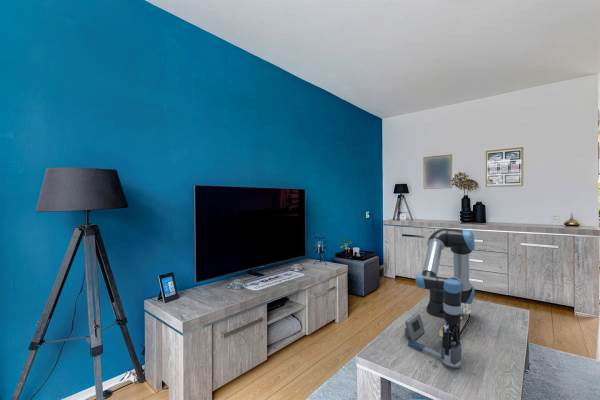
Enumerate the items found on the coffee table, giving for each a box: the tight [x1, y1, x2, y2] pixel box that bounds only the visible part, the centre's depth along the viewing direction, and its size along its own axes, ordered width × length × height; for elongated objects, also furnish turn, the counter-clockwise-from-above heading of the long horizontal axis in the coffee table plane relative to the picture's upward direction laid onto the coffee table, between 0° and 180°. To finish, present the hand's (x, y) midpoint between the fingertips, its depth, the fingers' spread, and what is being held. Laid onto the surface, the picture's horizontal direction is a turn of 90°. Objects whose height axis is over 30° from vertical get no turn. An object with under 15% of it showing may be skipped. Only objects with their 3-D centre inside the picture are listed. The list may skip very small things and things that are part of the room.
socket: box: [440, 340, 462, 365], centre depth 136 cm, size 6×6×9 cm
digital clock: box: [404, 312, 426, 341], centre depth 164 cm, size 16×9×11 cm, turn 122°
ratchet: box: [407, 339, 462, 370], centre depth 143 cm, size 8×26×6 cm, turn 37°
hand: (451, 358), depth 136 cm, fingers open, 7 cm apart
